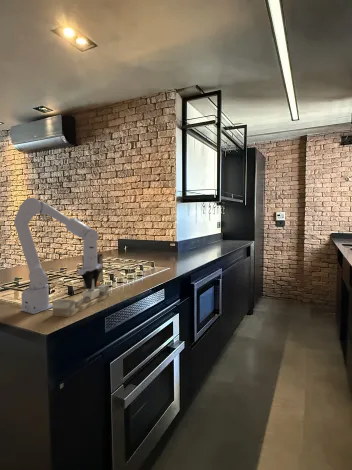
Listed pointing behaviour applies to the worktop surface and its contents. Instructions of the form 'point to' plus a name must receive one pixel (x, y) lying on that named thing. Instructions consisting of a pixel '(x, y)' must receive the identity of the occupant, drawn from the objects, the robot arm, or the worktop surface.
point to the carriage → (91, 292)
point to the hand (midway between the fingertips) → (91, 287)
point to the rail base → (78, 303)
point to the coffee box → (99, 261)
